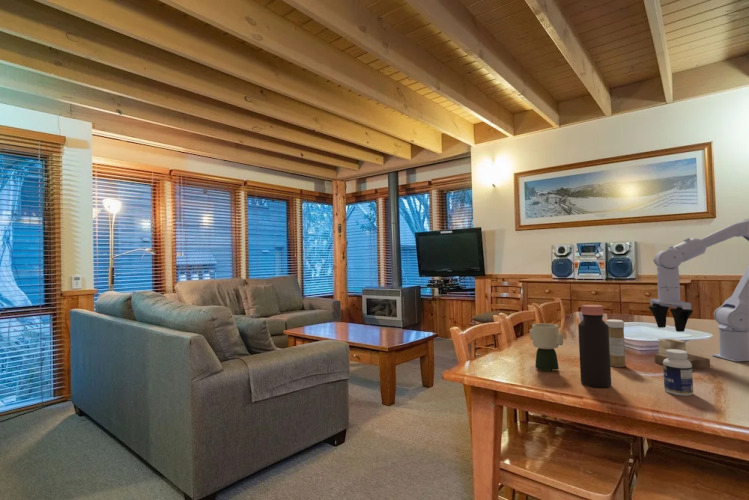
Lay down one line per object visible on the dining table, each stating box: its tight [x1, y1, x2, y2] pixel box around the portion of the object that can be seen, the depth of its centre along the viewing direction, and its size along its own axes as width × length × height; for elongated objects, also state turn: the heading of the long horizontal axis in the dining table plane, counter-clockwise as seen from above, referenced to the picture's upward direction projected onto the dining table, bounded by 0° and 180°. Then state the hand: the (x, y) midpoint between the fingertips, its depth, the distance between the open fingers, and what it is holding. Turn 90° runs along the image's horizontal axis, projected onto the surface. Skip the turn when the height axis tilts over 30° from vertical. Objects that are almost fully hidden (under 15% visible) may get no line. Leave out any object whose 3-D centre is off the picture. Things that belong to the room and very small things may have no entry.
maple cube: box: [657, 338, 687, 354], centre depth 125 cm, size 5×5×5 cm
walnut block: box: [654, 353, 711, 371], centre depth 114 cm, size 9×9×3 cm
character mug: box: [528, 322, 564, 372], centre depth 113 cm, size 11×7×13 cm, turn 29°
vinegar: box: [577, 304, 612, 389], centre depth 100 cm, size 7×7×20 cm
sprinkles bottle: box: [605, 318, 627, 368], centre depth 116 cm, size 5×5×14 cm
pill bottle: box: [662, 349, 694, 397], centre depth 92 cm, size 5×5×10 cm
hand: (670, 329), depth 125 cm, fingers open, 7 cm apart
